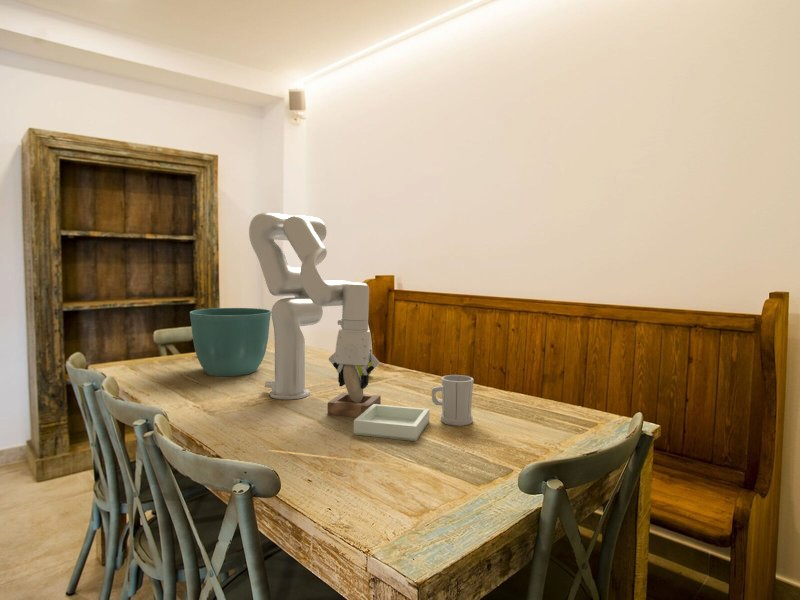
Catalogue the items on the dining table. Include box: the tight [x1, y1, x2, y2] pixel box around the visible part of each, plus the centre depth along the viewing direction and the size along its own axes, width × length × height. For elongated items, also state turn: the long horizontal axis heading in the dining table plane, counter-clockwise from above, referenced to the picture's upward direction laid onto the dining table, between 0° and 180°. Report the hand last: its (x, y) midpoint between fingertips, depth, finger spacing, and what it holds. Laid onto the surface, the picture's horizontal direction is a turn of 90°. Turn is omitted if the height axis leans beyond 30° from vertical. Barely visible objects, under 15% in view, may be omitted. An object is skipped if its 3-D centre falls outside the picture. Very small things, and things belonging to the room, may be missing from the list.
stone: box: [343, 365, 364, 403], centre depth 146 cm, size 6×6×12 cm
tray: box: [353, 404, 430, 442], centre depth 131 cm, size 16×16×4 cm
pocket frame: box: [327, 392, 382, 418], centre depth 146 cm, size 12×12×4 cm
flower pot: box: [189, 307, 272, 377], centre depth 196 cm, size 30×30×24 cm
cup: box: [431, 374, 475, 427], centre depth 137 cm, size 10×9×12 cm
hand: (353, 385), depth 146 cm, fingers closed on stone, 6 cm apart
